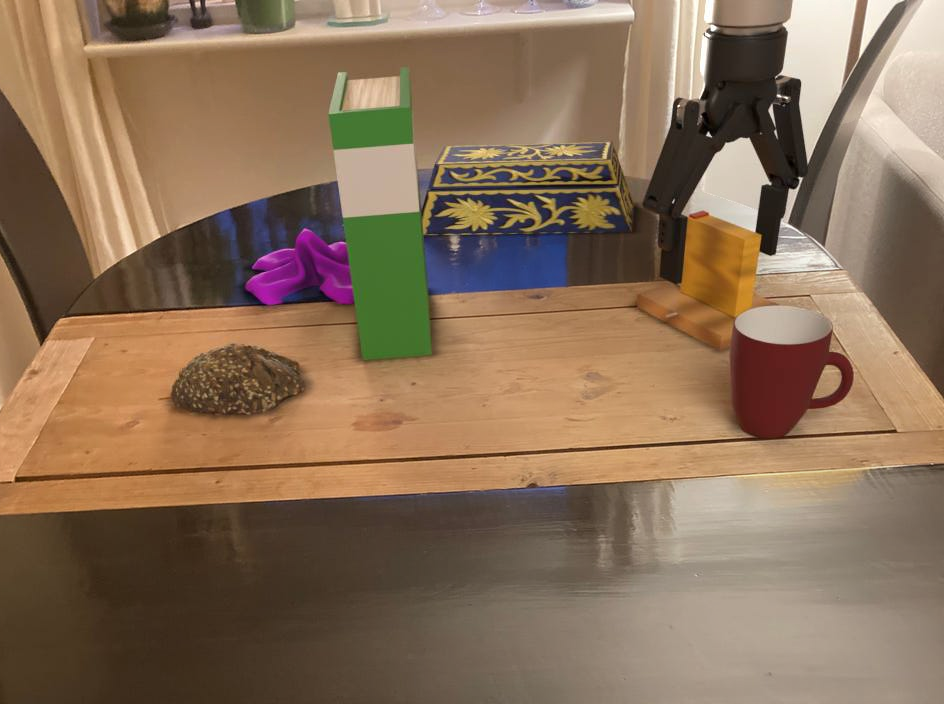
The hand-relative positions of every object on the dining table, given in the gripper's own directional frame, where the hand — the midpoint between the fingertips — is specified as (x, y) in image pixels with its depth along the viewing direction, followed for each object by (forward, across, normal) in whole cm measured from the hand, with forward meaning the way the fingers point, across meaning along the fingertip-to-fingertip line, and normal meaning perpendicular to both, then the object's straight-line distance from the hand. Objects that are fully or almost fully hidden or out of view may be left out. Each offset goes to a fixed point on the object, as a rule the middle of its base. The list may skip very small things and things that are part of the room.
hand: (718, 265), depth 101 cm
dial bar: (+4, 0, 0) cm, 4 cm away
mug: (+6, +11, +22) cm, 25 cm away
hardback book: (+6, +29, -20) cm, 36 cm away
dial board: (+6, 0, 0) cm, 6 cm away
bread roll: (+6, +49, -15) cm, 52 cm away
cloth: (+6, +30, -40) cm, 50 cm away
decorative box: (+6, -1, -40) cm, 40 cm away
